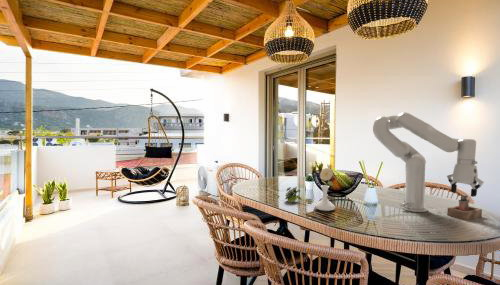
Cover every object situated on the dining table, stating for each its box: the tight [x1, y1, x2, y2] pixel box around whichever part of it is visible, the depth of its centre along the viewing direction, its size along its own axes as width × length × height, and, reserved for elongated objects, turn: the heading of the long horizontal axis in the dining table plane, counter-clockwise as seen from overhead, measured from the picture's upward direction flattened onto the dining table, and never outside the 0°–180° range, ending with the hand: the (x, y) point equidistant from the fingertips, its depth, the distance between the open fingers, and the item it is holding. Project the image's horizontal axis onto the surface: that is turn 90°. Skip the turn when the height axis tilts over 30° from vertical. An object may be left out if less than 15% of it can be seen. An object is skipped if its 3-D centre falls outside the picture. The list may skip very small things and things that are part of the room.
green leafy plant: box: [284, 186, 302, 204], centre depth 182 cm, size 11×11×12 cm
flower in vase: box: [314, 167, 336, 212], centre depth 162 cm, size 13×11×25 cm
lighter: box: [458, 194, 470, 211], centre depth 150 cm, size 8×3×10 cm, turn 124°
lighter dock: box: [446, 205, 483, 221], centre depth 150 cm, size 13×9×4 cm
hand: (463, 194), depth 150 cm, fingers open, 9 cm apart
